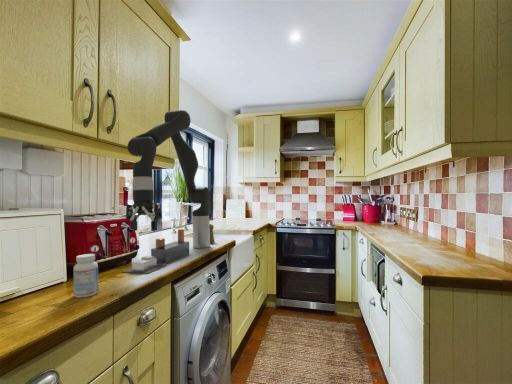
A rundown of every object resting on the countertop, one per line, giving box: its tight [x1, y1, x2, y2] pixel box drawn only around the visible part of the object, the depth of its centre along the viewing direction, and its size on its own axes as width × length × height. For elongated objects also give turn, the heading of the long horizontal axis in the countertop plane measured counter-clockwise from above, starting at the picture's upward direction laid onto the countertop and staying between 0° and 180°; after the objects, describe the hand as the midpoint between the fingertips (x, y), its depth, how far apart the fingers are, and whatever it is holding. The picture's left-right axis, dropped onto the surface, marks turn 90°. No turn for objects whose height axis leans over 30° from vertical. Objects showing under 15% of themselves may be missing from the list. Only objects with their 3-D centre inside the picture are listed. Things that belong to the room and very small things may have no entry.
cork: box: [209, 223, 215, 244], centre depth 164 cm, size 6×6×11 cm
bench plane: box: [150, 228, 190, 265], centre depth 123 cm, size 20×7×12 cm, turn 166°
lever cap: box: [131, 255, 158, 271], centre depth 105 cm, size 8×5×4 cm, turn 166°
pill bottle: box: [72, 253, 100, 299], centre depth 78 cm, size 6×6×11 cm
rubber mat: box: [121, 264, 166, 275], centre depth 105 cm, size 11×11×1 cm
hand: (144, 230), depth 105 cm, fingers open, 8 cm apart
